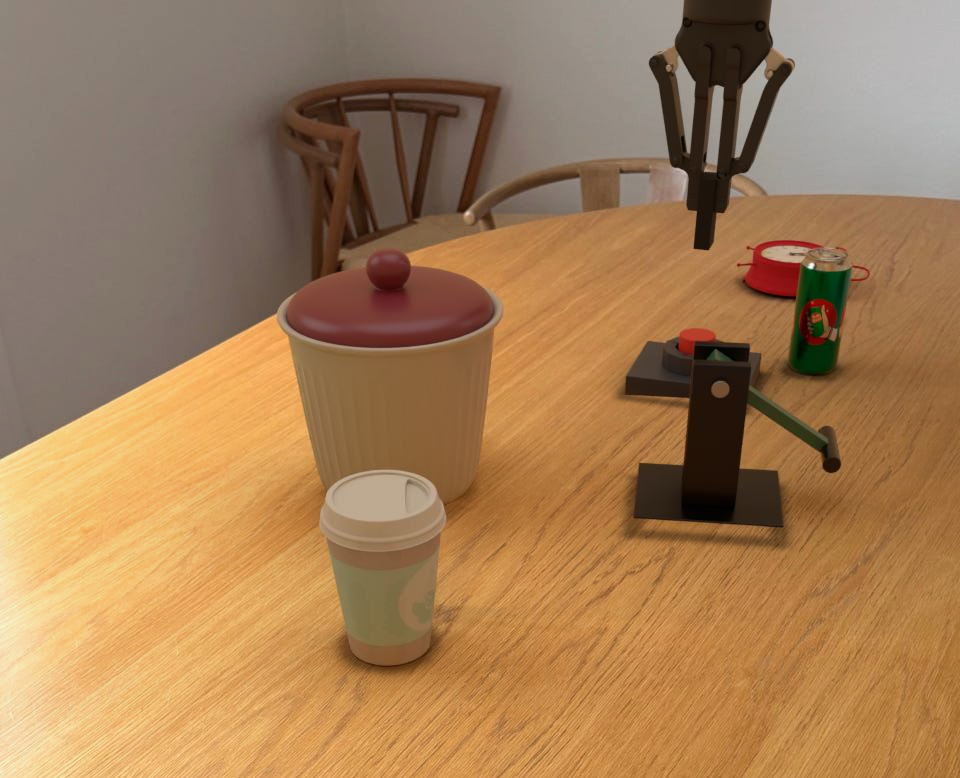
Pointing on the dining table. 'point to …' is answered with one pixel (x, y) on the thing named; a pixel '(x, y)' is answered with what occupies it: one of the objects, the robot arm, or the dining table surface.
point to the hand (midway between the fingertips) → (703, 245)
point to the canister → (394, 369)
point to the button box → (669, 371)
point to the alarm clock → (780, 266)
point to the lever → (794, 424)
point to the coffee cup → (385, 561)
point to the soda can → (819, 311)
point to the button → (694, 339)
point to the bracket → (712, 453)
